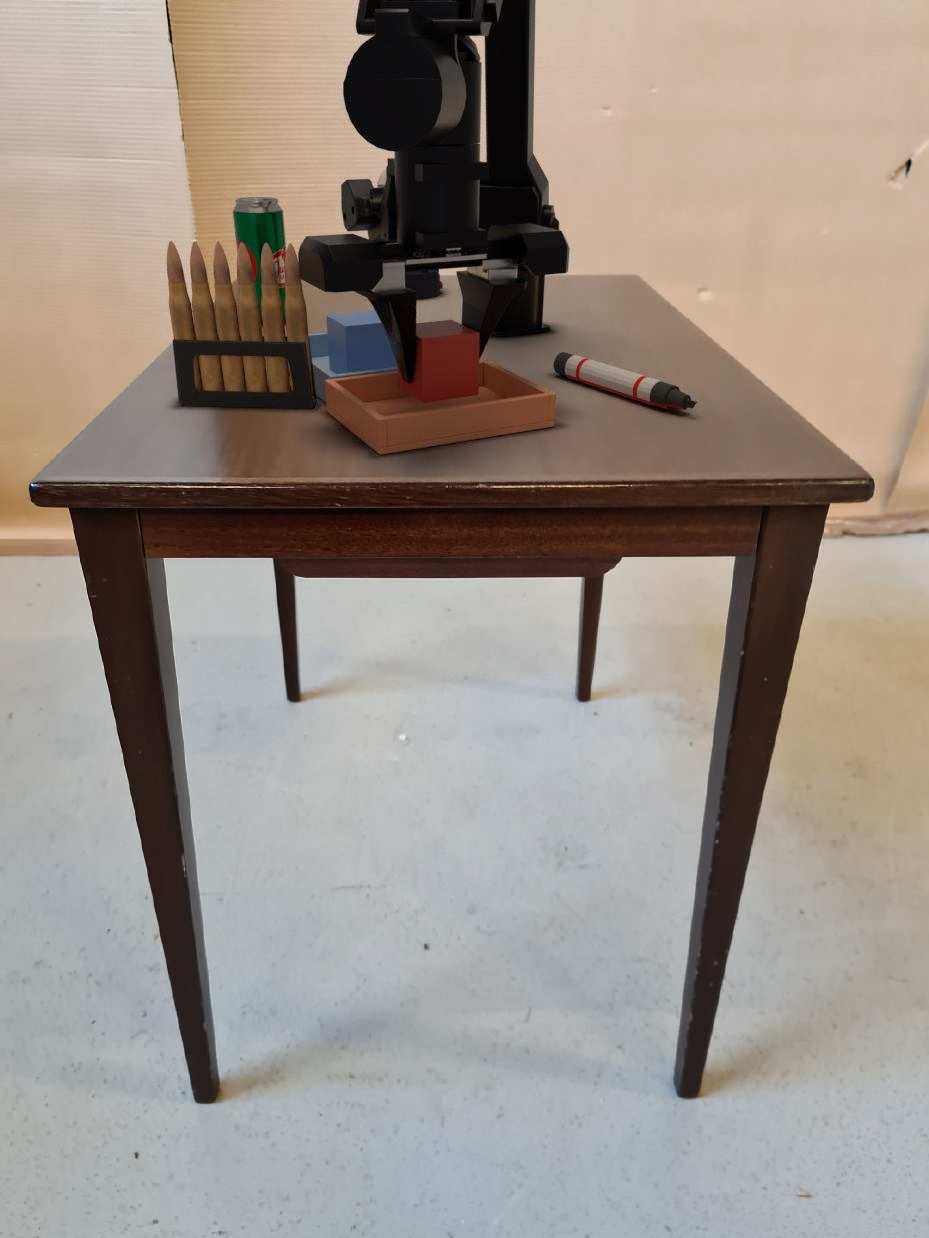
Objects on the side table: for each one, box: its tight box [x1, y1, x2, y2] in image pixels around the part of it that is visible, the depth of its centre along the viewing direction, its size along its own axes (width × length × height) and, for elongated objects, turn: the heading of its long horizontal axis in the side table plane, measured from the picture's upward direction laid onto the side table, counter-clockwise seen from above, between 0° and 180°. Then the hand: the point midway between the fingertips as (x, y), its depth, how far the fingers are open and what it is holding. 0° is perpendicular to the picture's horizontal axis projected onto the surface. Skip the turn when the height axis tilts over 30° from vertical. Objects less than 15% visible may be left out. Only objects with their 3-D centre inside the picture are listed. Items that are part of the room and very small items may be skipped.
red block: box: [397, 319, 480, 403], centre depth 67 cm, size 5×5×5 cm
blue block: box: [325, 310, 397, 374], centre depth 77 cm, size 5×5×5 cm
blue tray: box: [286, 331, 397, 403], centre depth 78 cm, size 11×14×2 cm
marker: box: [552, 351, 698, 411], centre depth 74 cm, size 15×2×2 cm, turn 37°
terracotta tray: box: [325, 359, 557, 455], centre depth 68 cm, size 14×11×2 cm
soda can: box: [232, 196, 287, 326], centre depth 94 cm, size 5×5×12 cm
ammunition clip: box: [166, 240, 318, 409], centre depth 69 cm, size 11×2×12 cm, turn 88°
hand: (438, 378), depth 68 cm, fingers closed on red block, 4 cm apart
